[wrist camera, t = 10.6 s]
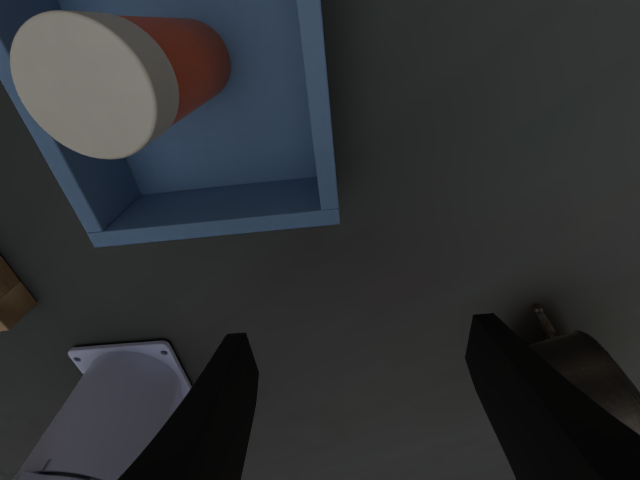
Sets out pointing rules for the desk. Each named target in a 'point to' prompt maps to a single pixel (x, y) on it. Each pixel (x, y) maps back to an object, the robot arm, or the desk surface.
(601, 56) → the desk surface
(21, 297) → the pen rack
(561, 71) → the desk surface
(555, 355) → the alarm clock
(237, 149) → the bin
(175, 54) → the pill bottle
